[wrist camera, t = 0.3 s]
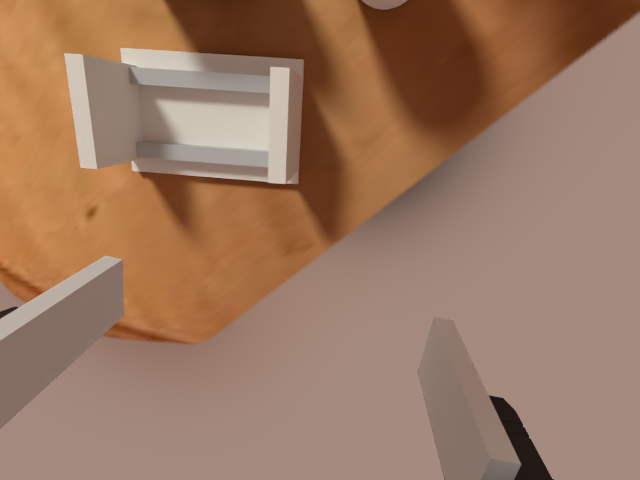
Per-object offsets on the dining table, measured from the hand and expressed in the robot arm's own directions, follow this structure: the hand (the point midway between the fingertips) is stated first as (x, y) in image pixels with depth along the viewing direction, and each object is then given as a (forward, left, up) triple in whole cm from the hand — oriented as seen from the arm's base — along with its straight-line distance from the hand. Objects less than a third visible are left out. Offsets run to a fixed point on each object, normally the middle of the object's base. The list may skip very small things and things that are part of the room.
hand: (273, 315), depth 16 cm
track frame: (-7, -12, -27) cm, 30 cm away
